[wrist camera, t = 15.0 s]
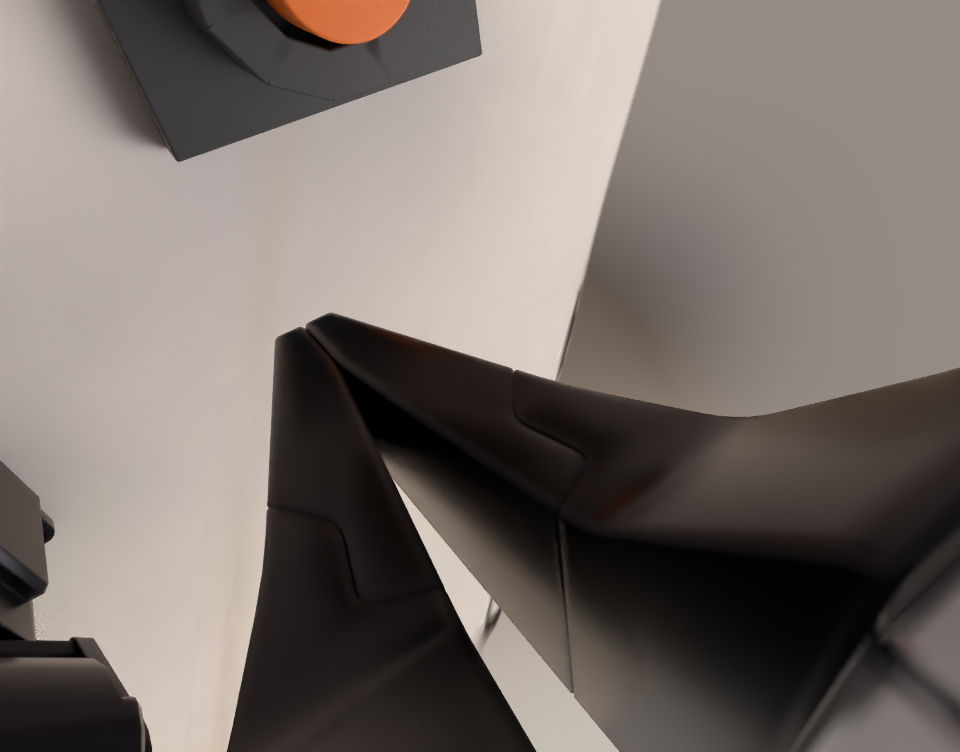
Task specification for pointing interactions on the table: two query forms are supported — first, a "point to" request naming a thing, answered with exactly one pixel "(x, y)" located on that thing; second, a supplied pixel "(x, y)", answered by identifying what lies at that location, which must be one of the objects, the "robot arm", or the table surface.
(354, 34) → the button
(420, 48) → the opener housing
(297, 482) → the robot arm
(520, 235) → the table surface
